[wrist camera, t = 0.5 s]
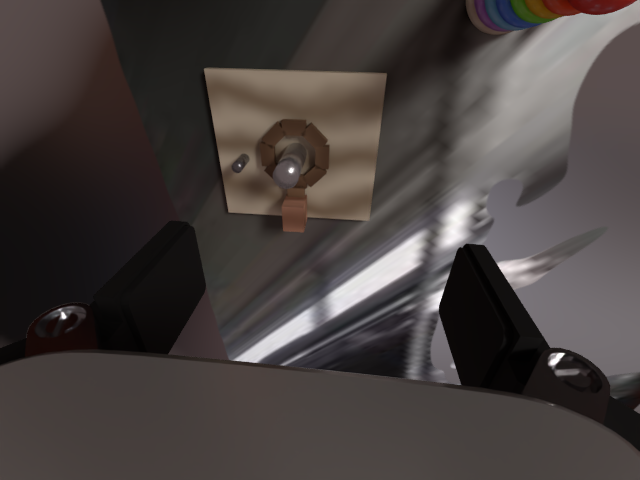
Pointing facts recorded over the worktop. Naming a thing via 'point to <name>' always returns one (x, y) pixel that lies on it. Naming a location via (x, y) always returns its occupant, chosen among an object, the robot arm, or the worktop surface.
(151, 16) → the worktop surface
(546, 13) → the stacking toy
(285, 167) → the grey cylinder
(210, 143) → the worktop surface
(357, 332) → the worktop surface
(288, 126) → the ring with handle
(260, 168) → the board
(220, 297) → the worktop surface
